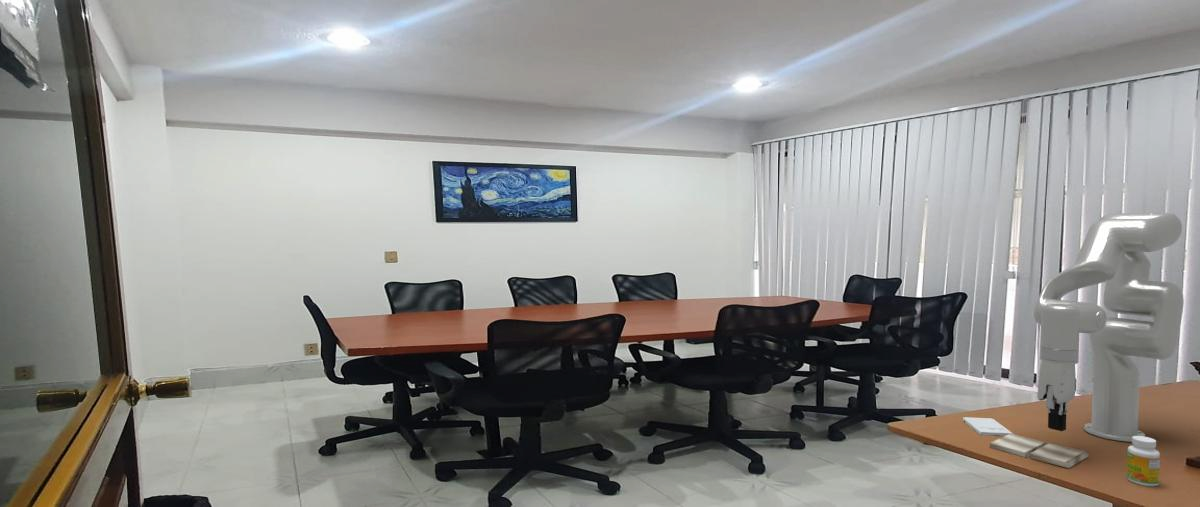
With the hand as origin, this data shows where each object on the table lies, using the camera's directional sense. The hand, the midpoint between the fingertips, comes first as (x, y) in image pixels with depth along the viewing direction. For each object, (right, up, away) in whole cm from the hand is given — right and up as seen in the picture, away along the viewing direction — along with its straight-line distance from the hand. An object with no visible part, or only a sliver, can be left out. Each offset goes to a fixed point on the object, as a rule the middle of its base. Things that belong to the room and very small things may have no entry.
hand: (1056, 429), depth 149 cm
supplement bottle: (+9, -8, -14) cm, 18 cm away
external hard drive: (-3, -7, +22) cm, 23 cm away
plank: (+1, -7, 0) cm, 7 cm away
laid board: (-5, -7, +7) cm, 11 cm away
